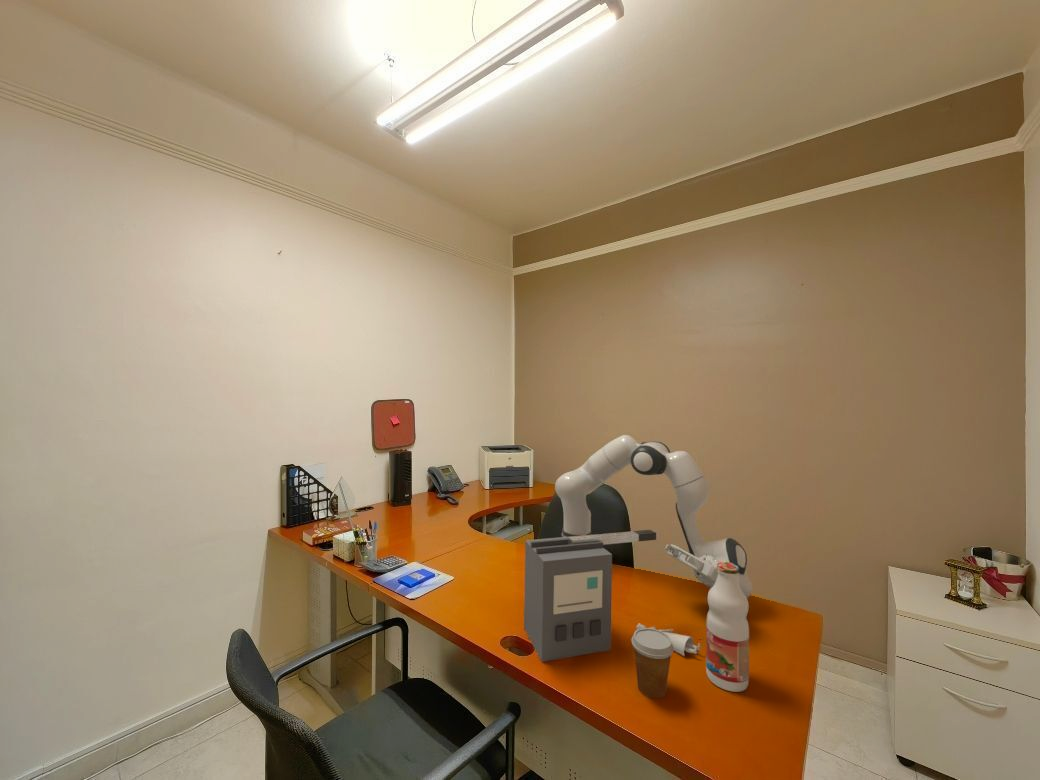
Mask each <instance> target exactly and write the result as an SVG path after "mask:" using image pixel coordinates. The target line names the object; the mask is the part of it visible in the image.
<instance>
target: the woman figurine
mask: <svg viewBox="0 0 1040 780" xmlns="http://www.w3.org/2000/svg"><path fill="white" fill-rule="evenodd" d="M641 628H647V627H646V625H644V624H642V623H638V624H637V625H636V630H638V629H641ZM649 628H652V629H656V627H655V626H650V627H649ZM658 630H659V631H661V632H663V633H665V634H666V635H668V636H669V638H670V639H671V642H672V644H673V652H676V653H677V654H680V655H681V656H683V657H685V652H687V653H690V654H694V655H695V654H696V655H697V653H698V651H701V648H700V647H701V643H697V644H698V645H694V639H693V637H692V636H688V635H684V634H678V633H673V632H674V629H673V628H670V629H658ZM697 650H698V651H697Z"/></svg>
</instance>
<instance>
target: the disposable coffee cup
mask: <svg viewBox="0 0 1040 780" xmlns="http://www.w3.org/2000/svg"><path fill="white" fill-rule="evenodd" d="M659 630H660V629H656V628H654V629H652V628H650V627H646V628H641V629H638V630H637V629H636V630H635V631H634V632H633V635H632V637H631V640H630V641H631V644H632V647H633V652H634V653H633V655H634V662H635V671H636V680H637V688H638V690H639V691H640V693H641V694H642V695H644V696H646V697H648V698H650V699H662V698H663V697H665V695H666V692H667V691H666V690H667V687H668V686H667V685H668V678H669V672H670V671H669V670H670V665H671V657H672V654H673V652H674V650H673V644H672V642H671V639H670V638H669V636H668V635H666V634H665V633H663V632H661V631H659Z"/></svg>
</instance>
